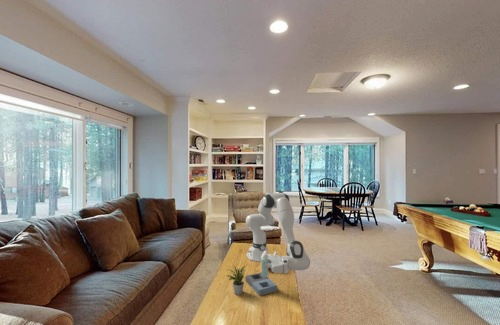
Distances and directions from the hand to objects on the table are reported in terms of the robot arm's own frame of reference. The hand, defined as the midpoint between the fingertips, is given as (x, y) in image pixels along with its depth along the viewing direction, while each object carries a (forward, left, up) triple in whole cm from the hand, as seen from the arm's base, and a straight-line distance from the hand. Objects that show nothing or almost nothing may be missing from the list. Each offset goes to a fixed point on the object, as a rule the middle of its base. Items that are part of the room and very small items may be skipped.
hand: (263, 263), depth 157 cm
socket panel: (-6, +1, -17) cm, 18 cm away
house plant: (-5, -16, -18) cm, 24 cm away
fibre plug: (0, +1, -8) cm, 8 cm away
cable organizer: (-28, +20, -18) cm, 38 cm away
